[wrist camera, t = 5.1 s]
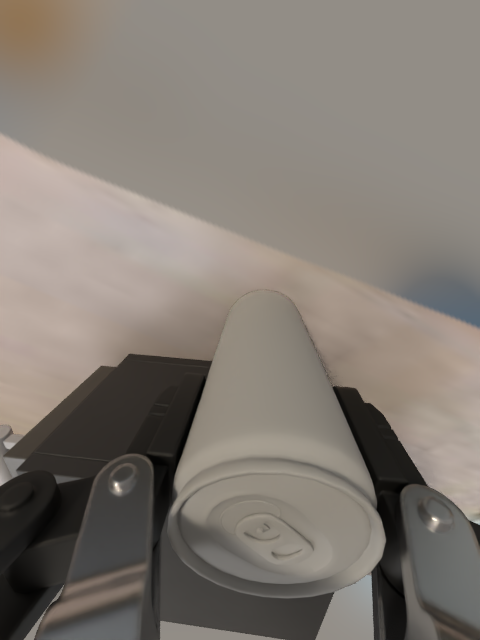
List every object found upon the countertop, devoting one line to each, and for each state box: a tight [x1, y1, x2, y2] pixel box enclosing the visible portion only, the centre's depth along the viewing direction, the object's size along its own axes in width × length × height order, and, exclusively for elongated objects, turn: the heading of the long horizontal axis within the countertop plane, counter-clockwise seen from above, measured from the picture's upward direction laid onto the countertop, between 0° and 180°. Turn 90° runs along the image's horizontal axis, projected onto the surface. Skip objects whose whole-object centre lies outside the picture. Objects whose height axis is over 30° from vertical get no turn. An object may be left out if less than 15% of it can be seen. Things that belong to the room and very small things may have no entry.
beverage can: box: [167, 290, 386, 598], centre depth 11 cm, size 5×5×12 cm
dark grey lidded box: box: [16, 354, 334, 640], centre depth 16 cm, size 14×12×9 cm
